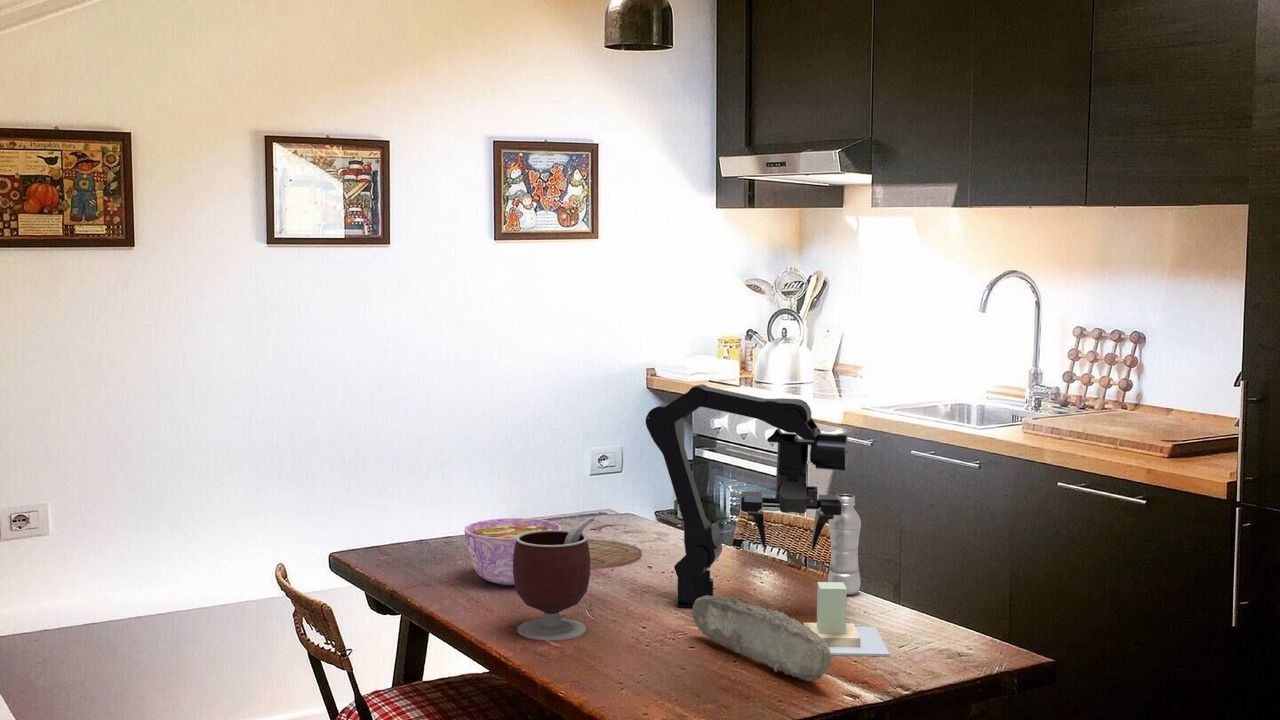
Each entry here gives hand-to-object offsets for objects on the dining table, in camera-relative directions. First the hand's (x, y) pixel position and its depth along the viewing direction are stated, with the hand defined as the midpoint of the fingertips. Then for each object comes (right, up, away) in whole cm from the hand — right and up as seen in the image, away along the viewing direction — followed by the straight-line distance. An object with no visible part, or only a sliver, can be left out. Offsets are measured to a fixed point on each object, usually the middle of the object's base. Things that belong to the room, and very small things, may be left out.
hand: (788, 548), depth 245 cm
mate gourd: (-43, -13, -11) cm, 47 cm away
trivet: (-40, -9, +44) cm, 60 cm away
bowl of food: (-54, -11, +22) cm, 59 cm away
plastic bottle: (+13, -12, +15) cm, 23 cm away
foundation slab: (+6, -14, -17) cm, 22 cm away
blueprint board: (+6, -14, -17) cm, 22 cm away
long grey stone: (-8, -15, -29) cm, 34 cm away
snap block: (+6, -12, -17) cm, 21 cm away
